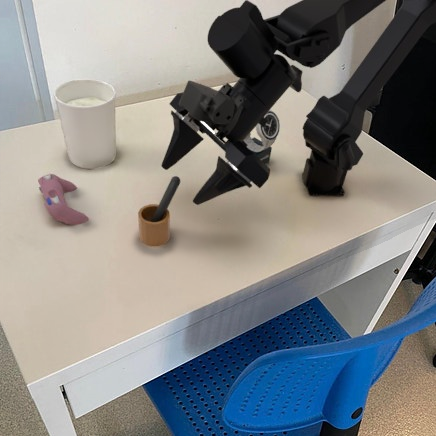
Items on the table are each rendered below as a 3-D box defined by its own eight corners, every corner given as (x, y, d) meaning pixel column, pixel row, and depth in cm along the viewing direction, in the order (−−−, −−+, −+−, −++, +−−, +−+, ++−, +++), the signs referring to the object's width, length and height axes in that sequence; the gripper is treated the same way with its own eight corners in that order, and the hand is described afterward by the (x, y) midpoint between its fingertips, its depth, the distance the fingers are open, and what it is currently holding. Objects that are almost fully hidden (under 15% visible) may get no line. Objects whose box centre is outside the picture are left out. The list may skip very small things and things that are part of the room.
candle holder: (109, 176, 86) (102, 111, 77) (55, 166, 86) (42, 100, 78) (127, 146, 92) (123, 84, 84) (77, 137, 93) (68, 74, 84)
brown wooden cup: (160, 229, 77) (160, 200, 73) (174, 246, 75) (175, 218, 71) (134, 237, 76) (132, 209, 72) (147, 255, 73) (146, 227, 69)
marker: (176, 228, 77) (177, 173, 69) (180, 233, 76) (182, 178, 69) (141, 240, 74) (139, 184, 67) (145, 245, 74) (143, 189, 66)
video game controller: (55, 202, 82) (28, 173, 77) (78, 187, 82) (53, 158, 76) (68, 240, 76) (39, 212, 71) (93, 225, 76) (66, 195, 70)
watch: (257, 177, 89) (266, 121, 81) (225, 157, 92) (231, 101, 84) (277, 166, 92) (288, 111, 84) (245, 147, 95) (253, 92, 87)
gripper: (183, 31, 65) (111, 125, 69) (265, 93, 55) (175, 200, 59) (227, 80, 74) (161, 161, 78) (305, 141, 64) (225, 231, 68)
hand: (178, 185), depth 70 cm, fingers open, 9 cm apart
